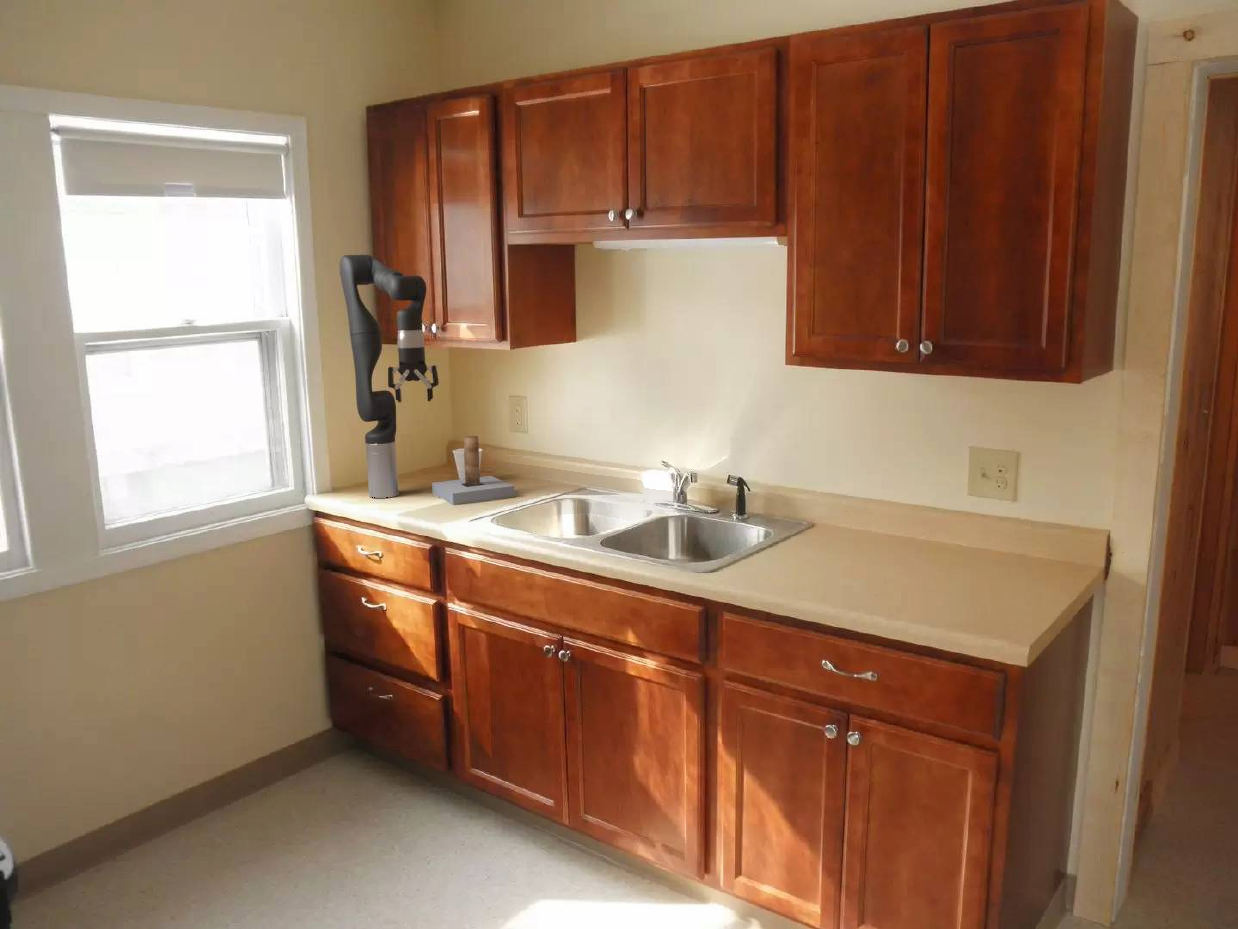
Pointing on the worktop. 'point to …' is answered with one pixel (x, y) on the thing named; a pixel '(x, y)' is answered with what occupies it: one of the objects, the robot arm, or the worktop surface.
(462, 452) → the cup
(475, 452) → the dowel
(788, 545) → the worktop surface
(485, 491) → the socket block
